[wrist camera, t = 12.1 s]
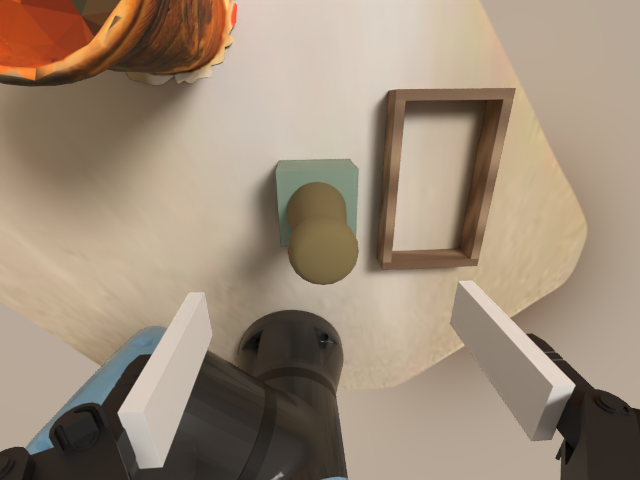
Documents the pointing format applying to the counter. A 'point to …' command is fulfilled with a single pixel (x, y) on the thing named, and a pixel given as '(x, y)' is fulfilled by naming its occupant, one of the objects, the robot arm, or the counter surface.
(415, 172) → the counter surface
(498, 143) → the wooden frame
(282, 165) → the stand
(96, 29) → the vessel
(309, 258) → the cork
